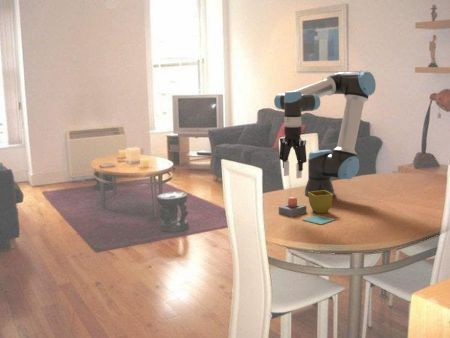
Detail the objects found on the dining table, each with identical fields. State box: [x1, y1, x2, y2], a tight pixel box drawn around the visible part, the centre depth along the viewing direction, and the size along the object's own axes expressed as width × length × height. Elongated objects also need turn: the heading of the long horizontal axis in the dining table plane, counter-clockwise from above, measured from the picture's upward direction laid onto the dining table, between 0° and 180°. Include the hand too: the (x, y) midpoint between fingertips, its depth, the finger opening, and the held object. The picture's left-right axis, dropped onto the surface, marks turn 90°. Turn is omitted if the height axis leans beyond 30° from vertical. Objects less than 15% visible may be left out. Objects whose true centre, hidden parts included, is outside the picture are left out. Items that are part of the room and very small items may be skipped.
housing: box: [278, 203, 307, 217], centre depth 244 cm, size 10×8×3 cm
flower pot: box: [307, 190, 334, 214], centre depth 244 cm, size 9×9×9 cm
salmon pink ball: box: [287, 196, 298, 208], centre depth 243 cm, size 4×4×4 cm
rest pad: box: [302, 214, 336, 226], centre depth 232 cm, size 10×10×1 cm
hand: (292, 176), depth 241 cm, fingers open, 7 cm apart
